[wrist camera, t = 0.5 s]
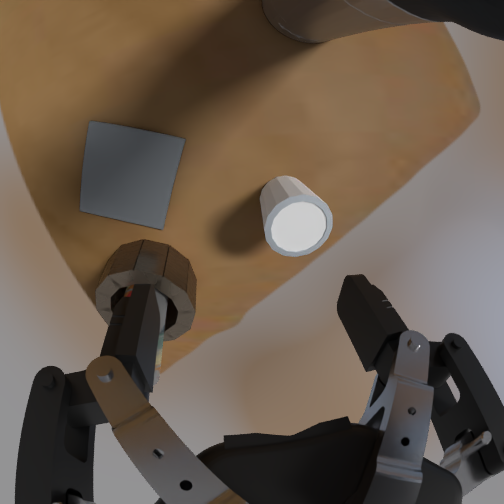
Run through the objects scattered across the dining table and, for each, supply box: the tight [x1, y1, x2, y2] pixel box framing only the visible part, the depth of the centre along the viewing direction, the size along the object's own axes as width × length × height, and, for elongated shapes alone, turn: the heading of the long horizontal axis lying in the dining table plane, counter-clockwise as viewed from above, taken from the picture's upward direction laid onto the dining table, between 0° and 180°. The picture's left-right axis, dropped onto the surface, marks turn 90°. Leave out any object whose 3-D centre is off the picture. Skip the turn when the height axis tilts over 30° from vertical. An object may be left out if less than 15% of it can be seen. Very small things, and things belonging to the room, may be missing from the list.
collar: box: [95, 239, 197, 341], centre depth 33 cm, size 12×12×6 cm
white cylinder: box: [260, 176, 332, 257], centre depth 29 cm, size 7×7×7 cm
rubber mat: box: [80, 121, 186, 230], centre depth 27 cm, size 11×11×1 cm
